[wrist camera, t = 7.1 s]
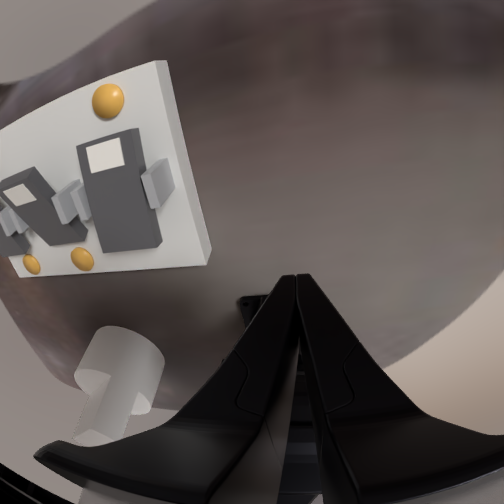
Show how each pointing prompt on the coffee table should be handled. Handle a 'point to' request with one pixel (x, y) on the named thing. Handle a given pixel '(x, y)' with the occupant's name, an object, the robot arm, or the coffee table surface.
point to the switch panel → (71, 182)
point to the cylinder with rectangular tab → (116, 383)
